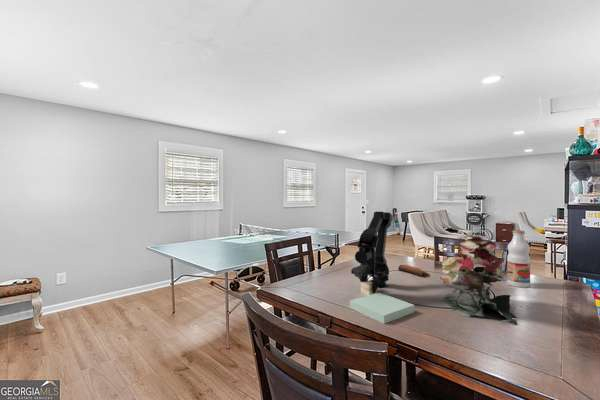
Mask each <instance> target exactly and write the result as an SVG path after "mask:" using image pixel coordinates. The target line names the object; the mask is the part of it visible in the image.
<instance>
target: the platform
mask: <svg viewBox="0 0 600 400" xmlns="http://www.w3.org/2000/svg"><path fill="white" fill-rule="evenodd" d="M349 309H351V310H353V311H356V312H358V313H361V314H362V315H364V316H366V317H368V316H369V318H371V319H373V320H375V321H377V322H379V323H381V324H386V323H390V322H393V321H395V320H397V319H400V318H403V317H405V316H408V315H411V314H414V313H415V305H414V304H413V303H409V302H407V301H404V300H402V299H399V298H396V297H393V296H390V295H388V294H385V293H382V292H378V293H375V294H372V295H368V296H365V295H363V296H361V297H357V298H354V299H351V300H349Z"/></svg>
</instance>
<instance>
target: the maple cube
mask: <svg viewBox="0 0 600 400" xmlns="http://www.w3.org/2000/svg"><path fill="white" fill-rule="evenodd" d="M370 280H371V279H370ZM370 280H368V279H367V281H364V282H361V281H360V295H363V296H368V295H372V294H373V292H372V282H371V281H370ZM378 288H379V287H378ZM378 288H377V290H376V292H375V293H379V292H378Z"/></svg>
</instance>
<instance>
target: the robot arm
mask: <svg viewBox="0 0 600 400" xmlns="http://www.w3.org/2000/svg"><path fill="white" fill-rule="evenodd" d="M393 219H394V216H393V214H392V213H391V212H386V211H377V210H376V211H374V212H373V217H372V219H371V221H370V222H369V225H368V227H367V228H366V229H364V230H363V232H362V233H360V236H359V239H358V244H357V248H358V251H356V252H355V255H354V259H355V261H356V262H357V263H359V264H360V265H357V266H354V267H352V268H351V271H350V272H351V274H352V275H354V277H355V278H357V279H358V280H359V281H360V283H361V282H364V281H368V278H369V277H370V278H371V277H372V279H370V281H371V282H372V292H373V294H375V292H376V290H377V288H379V289H381V288H384V287H388V286H389V284H387V282H388V281H389V275H390V269H389V266H388V261H387V259H386V257H385V252H386V243H387V237H388V236H387V235H388V229H389V228H390V227H391V225H392V222H393Z"/></svg>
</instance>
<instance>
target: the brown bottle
mask: <svg viewBox="0 0 600 400" xmlns="http://www.w3.org/2000/svg"><path fill="white" fill-rule="evenodd" d="M397 268H398V271H402V272H407V273H410V274H414V275H417V276H420V277H422V278H426V277H430V276H431V274H430V273H429V272H426V271H424V270H423V269H421V268H420V267H415V266H412V265H408V264H400V265H399V266H398V267H397Z"/></svg>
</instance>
